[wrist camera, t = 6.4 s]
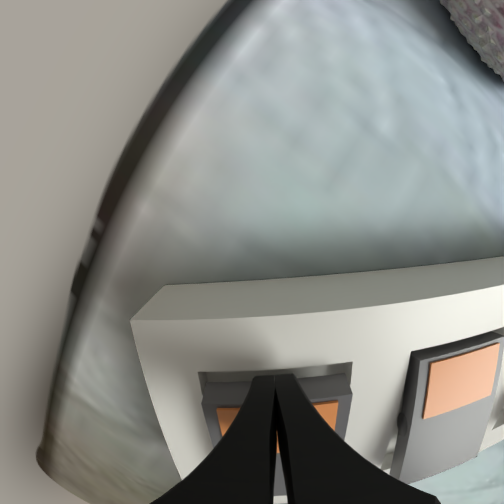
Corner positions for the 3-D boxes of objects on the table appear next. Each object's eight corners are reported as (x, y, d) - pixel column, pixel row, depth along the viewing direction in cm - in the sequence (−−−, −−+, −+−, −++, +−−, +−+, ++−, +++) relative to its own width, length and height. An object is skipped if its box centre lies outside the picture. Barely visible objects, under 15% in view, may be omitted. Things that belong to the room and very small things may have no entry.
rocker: (328, 468, 12) (332, 492, 10) (230, 474, 12) (228, 498, 11) (343, 368, 10) (353, 396, 9) (207, 377, 10) (200, 406, 9)
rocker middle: (464, 444, 11) (477, 457, 9) (387, 470, 11) (397, 489, 9) (486, 329, 11) (507, 336, 9) (404, 349, 11) (421, 361, 9)
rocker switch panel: (519, 388, 15) (545, 412, 11) (202, 453, 16) (191, 501, 12) (553, 249, 13) (592, 261, 9) (164, 285, 14) (129, 320, 10)
